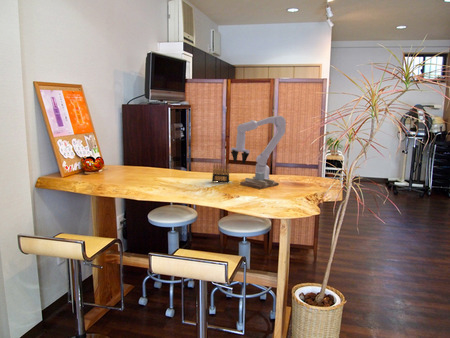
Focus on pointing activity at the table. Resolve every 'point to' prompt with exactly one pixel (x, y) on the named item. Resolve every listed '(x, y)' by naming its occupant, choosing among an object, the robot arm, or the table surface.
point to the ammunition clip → (220, 173)
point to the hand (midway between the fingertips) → (239, 162)
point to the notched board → (259, 183)
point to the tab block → (259, 176)
